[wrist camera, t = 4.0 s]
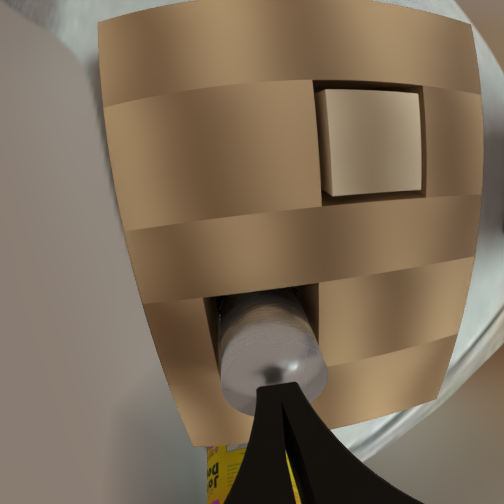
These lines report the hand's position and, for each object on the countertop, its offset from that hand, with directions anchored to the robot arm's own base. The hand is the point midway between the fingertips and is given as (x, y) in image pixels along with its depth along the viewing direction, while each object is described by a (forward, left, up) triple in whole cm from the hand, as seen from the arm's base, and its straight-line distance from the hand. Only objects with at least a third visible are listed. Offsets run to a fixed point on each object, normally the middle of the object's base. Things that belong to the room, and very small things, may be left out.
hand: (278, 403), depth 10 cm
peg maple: (-5, -8, -9) cm, 13 cm away
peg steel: (0, 0, -6) cm, 6 cm away
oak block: (-3, -3, -9) cm, 10 cm away
